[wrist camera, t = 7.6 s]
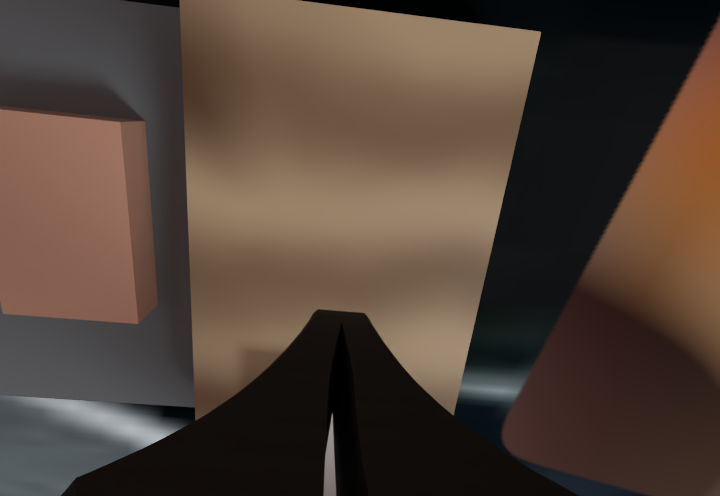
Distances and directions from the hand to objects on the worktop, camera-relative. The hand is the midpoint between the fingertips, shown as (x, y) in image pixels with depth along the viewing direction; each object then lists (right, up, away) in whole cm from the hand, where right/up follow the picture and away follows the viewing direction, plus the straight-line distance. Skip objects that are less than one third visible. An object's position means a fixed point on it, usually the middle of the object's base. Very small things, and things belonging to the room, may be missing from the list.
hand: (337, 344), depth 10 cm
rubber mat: (-13, +3, +9) cm, 16 cm away
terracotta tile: (-12, +3, +6) cm, 14 cm away
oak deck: (0, +2, +10) cm, 10 cm away
